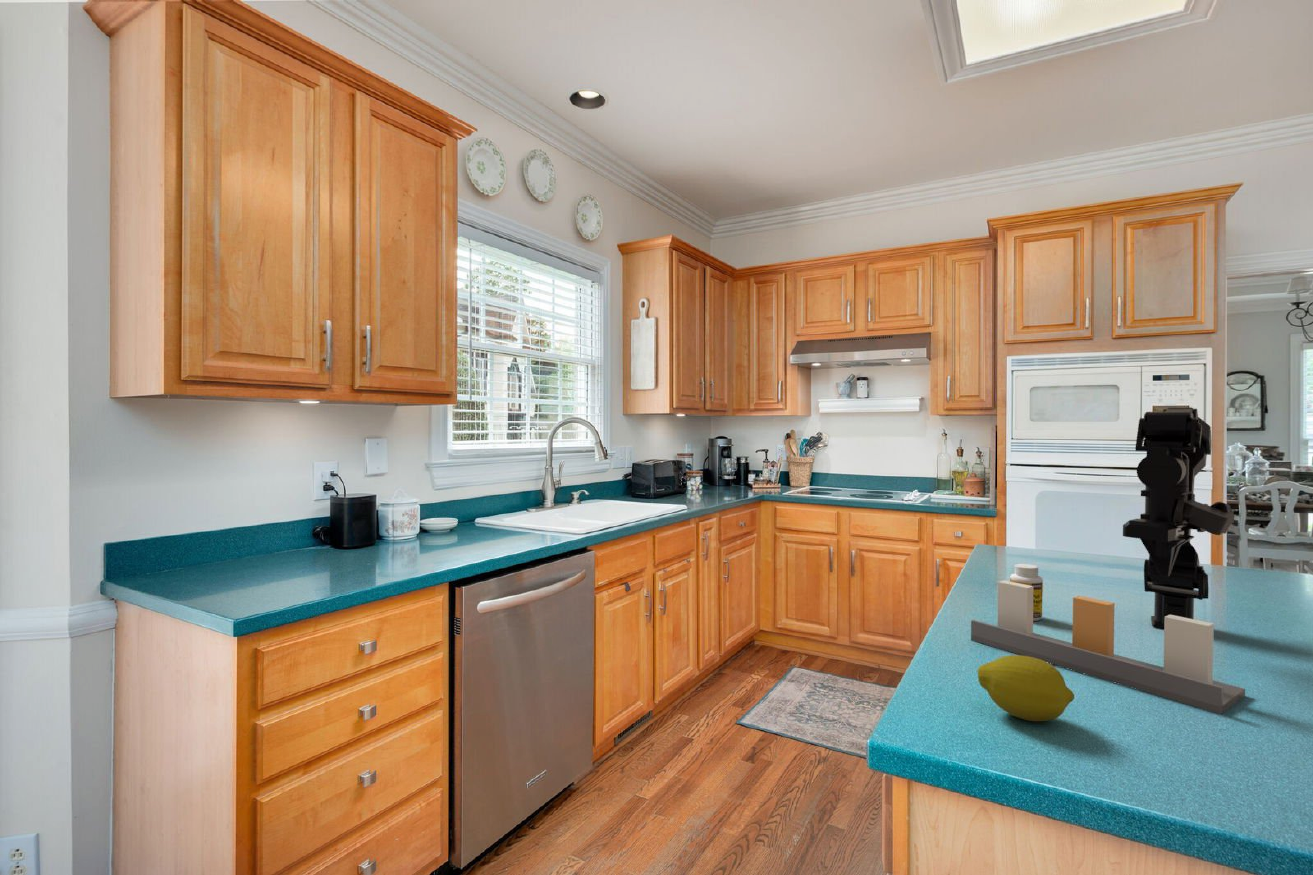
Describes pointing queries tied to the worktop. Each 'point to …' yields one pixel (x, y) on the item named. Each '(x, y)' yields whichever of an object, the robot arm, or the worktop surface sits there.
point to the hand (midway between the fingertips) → (1164, 576)
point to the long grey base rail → (1111, 668)
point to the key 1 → (1015, 607)
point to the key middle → (1093, 625)
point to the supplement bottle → (1029, 577)
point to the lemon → (1026, 687)
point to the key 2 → (1188, 648)
